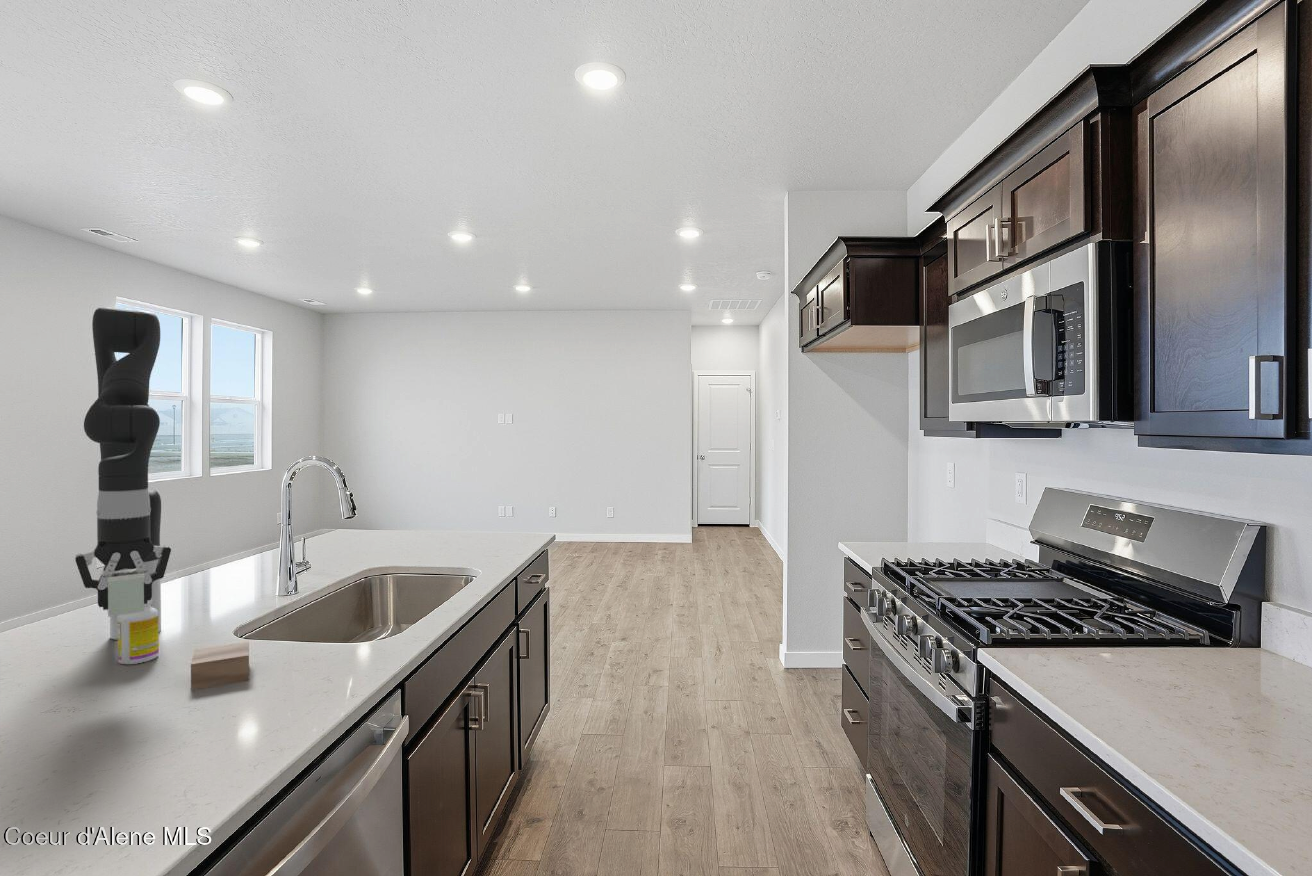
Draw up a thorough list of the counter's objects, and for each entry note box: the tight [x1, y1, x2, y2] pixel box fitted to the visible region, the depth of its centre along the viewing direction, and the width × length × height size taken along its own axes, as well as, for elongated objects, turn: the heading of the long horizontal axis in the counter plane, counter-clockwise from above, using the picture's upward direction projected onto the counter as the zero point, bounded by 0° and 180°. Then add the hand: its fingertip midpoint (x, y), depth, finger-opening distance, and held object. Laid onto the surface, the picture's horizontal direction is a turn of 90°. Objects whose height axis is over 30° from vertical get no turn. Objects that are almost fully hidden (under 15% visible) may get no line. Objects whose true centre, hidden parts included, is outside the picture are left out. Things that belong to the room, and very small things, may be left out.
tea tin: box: [106, 569, 144, 618], centre depth 119 cm, size 5×5×7 cm
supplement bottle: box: [117, 598, 160, 665], centre depth 134 cm, size 7×7×13 cm
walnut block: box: [190, 641, 250, 691], centre depth 125 cm, size 9×9×5 cm
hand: (125, 605), depth 119 cm, fingers closed on tea tin, 5 cm apart
